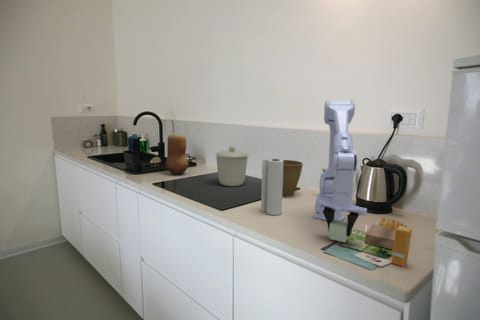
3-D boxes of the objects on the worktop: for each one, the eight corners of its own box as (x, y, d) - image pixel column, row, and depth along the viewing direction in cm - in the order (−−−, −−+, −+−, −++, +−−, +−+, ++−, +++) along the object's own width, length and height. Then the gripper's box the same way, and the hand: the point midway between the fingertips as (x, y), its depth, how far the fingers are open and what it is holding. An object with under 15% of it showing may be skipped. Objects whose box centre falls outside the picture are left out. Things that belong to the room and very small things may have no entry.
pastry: (409, 231, 109) (410, 220, 108) (407, 237, 103) (408, 226, 103) (380, 225, 114) (381, 215, 113) (376, 231, 108) (377, 220, 108)
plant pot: (279, 200, 142) (280, 165, 139) (264, 192, 156) (265, 160, 153) (307, 197, 147) (309, 163, 145) (290, 189, 161) (292, 158, 159)
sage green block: (328, 238, 99) (329, 223, 98) (334, 233, 103) (335, 218, 102) (344, 242, 96) (346, 227, 95) (349, 237, 100) (350, 222, 99)
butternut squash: (192, 173, 198) (192, 133, 194) (180, 177, 186) (179, 135, 182) (174, 171, 203) (173, 132, 199) (161, 175, 191) (160, 133, 187)
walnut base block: (364, 243, 98) (365, 233, 97) (372, 233, 106) (372, 224, 105) (400, 251, 92) (401, 242, 92) (405, 240, 100) (406, 231, 100)
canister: (250, 181, 178) (251, 144, 175) (245, 189, 161) (246, 148, 157) (219, 179, 181) (219, 143, 178) (211, 187, 164) (211, 147, 160)
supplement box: (404, 267, 83) (408, 231, 81) (390, 263, 85) (394, 228, 83) (408, 263, 85) (412, 228, 84) (394, 259, 87) (398, 224, 86)
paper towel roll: (284, 213, 125) (286, 159, 121) (275, 216, 121) (277, 161, 117) (270, 208, 130) (272, 157, 126) (260, 212, 126) (262, 159, 122)
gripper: (315, 189, 98) (312, 231, 100) (363, 198, 89) (360, 243, 92) (323, 185, 103) (320, 225, 105) (369, 192, 95) (366, 235, 97)
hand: (339, 233), depth 99 cm, fingers closed on sage green block, 5 cm apart
